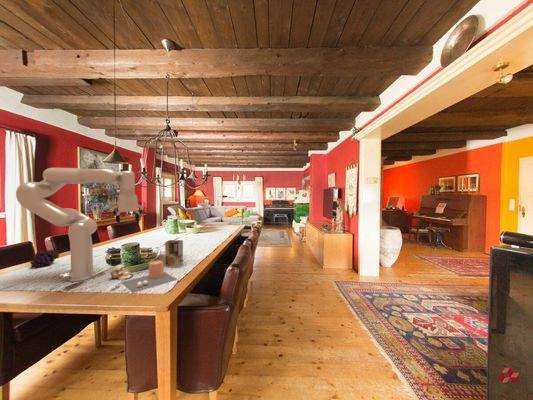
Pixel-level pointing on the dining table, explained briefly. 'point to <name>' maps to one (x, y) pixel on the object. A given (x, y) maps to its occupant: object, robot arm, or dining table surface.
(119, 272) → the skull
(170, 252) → the coffee box
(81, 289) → the dining table surface
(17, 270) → the dining table surface
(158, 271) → the cup
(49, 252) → the fruit
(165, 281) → the mat
